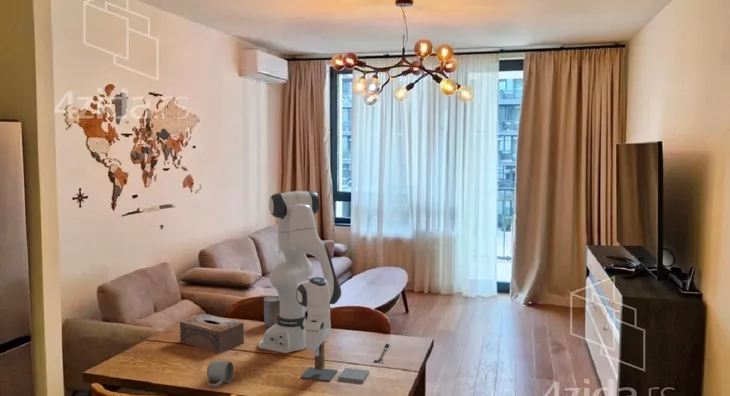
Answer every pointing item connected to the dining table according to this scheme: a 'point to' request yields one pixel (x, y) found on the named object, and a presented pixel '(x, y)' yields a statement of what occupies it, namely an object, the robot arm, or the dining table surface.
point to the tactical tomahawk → (382, 353)
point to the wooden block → (320, 358)
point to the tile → (353, 375)
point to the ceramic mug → (220, 372)
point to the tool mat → (319, 374)
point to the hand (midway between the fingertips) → (319, 353)
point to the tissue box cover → (212, 332)
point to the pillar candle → (271, 310)
